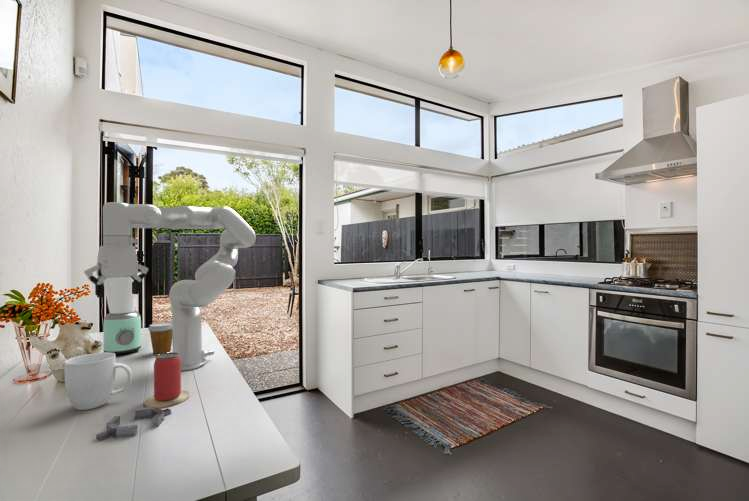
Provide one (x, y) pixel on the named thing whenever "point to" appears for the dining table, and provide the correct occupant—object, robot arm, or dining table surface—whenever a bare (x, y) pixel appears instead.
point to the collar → (131, 430)
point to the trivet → (161, 404)
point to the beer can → (167, 376)
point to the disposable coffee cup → (161, 337)
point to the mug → (92, 379)
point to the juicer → (121, 317)
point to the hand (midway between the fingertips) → (118, 295)
